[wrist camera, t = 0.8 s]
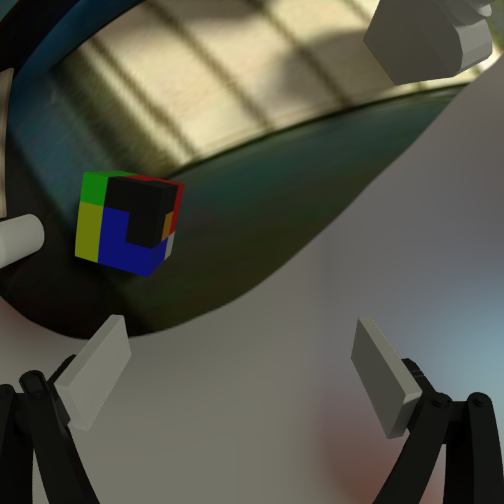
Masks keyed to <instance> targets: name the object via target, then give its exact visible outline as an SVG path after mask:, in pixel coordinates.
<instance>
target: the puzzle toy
mask: <svg viewBox="0 0 504 504" xmlns="http://www.w3.org/2000/svg"><path fill="white" fill-rule="evenodd" d="M183 189H184V184H182V183H177V182H173V181H168V180H163V179H158V178H153V177H148V176H143V175H138V174H133V173H128V172H123V171H103V172H84V177H83V184H82V190H81V197H80V205H79V213H78V223H77V233H76V246H75V256H77V257H80V258H84V259H87V260H90V261H93V262H97V263H100V264H104V265H107V266H110V267H114V268H117V269H121V270H124V271H128V272H131V273H135V274H138V275H142V276H146V277H149V276H150V275H151V274H152V273H153V272H154V271H155V270H156V269H157V268H158V267H159V266H160V264H161V263H162V262H163V261H164V260H165V259H166V258H167V257H168V256H169V255H170V254H171V249H172V244H173V238H174V233H175V228H176V223H177V217H178V213H179V208H180V203H181V198H182V193H183Z"/></svg>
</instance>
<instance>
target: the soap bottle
mask: <svg viewBox="0 0 504 504" xmlns="http://www.w3.org/2000/svg"><path fill="white" fill-rule="evenodd" d="M494 1H495V0H380V1H379V4H378V6H377V9H376V11H375V13H374V16H373V18H372V20H371V23H370V25H369V28H368V30H367V32H366V35H365V37H364V39H363V41H364V42H365V44H366V45H367V46H368V48H369V49H370V50H371V51H372V53H373V54H374V55H375V57H376V58H377V60H378V61H379V62H380V64H381V65H382V66H383V68H384V69H385V71H386V72H387V74H388V75H389V77H390V78H391V79H392V81H393V82H394V84H395V85H402V84H408V83H414V82H420V81H427V80H435V79H442V78H451V77H454V76H456V75H458V74H460V73H461V72H463V71H465V70H467V69H469V68H471V67H472V66H474V65H476V64H478V63H480V62H482V61H484V60H486V59H488V57H489V56H490V55H491V54H492V38H491V35H490V31H489V28H488V25H487V23H486V21H485V20H484V19H485V18H487V17H489V16H490V15H491V7H490V3H492V2H494Z"/></svg>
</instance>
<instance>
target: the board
mask: <svg viewBox="0 0 504 504" xmlns="http://www.w3.org/2000/svg"><path fill="white" fill-rule="evenodd" d="M13 72H14V69H13V68H9V69H7V70H5V71H3V72H1V73H0V218H3V217H7V216H6V202H5V136H6V123H7V112H8V104H9V96H10V89H11V83H12V77H13Z"/></svg>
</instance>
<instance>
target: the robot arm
mask: <svg viewBox="0 0 504 504" xmlns="http://www.w3.org/2000/svg"><path fill="white" fill-rule="evenodd" d="M131 356H132V355H131V350H130V346H129V341H128V337H127V332H126V327H125V322H124V317H123V316H121V315H111V316H110V317H109V318H108V320H107V321H106V322H105V323H104V324H103V325H102V326H101V328H100V329H99V330H98V331H97V332H96V333H95V335H94V336H93V337H92V338H91V339H90V340H89V342H88V343H87V344H86V345H85V346H84V348H83V349H82V350H81V351H80V352H79V353H78V355H74V354H73V355H72V356H70V357H68V358H67V359H65V361H64V362H63V363H62V364H61V366H59V368H58V369H57V371H55V372H54V374H53V375H52V376H51V377H50V378H49V380H48V381H47V382H46V379H45V377H44V375H43V373H42V372H40V371H38V370H32V371H28V372H26V373H24V374H23V375H22V376H21V377H20V379H19V383H20V385H21V387H22V389H23V391H24V393H16V392H15V390H14V388H13V386H11V385H10V384H2V385H0V504H33V503H32V502H33V500H32V471H33V451H34V450H35V454H36V459H37V463H38V467H39V471H40V474H41V479H42V482H43V486H44V489H45V492H46V495H47V499H48V501H49V504H100V503H99V501H98V499H97V497H96V495H95V492H94V490H93V488H92V486H91V484H90V482H89V479H88V477H87V474H86V472H85V470H84V468H83V465H82V462H81V460H80V457H79V455H78V452H77V449H76V447H75V444H74V441H73V438H72V435H71V432H70V429H69V428H68V426H67V424H68V423H69V421H70V420H71V421H72V423H73V425H74V427H75V428H77V429H80V430H84V431H87V432H88V431H89V429H90V427H91V426H92V424H93V422H94V420H95V418H96V417H97V415H98V413H99V411H100V409H101V408H102V406H103V404H104V402H105V400H106V399H107V397H108V395H109V393H110V392H111V390H112V388H113V386H114V385H115V383H116V381H117V380H118V378H119V376H120V374H121V373H122V371H123V369H124V367H125V366H126V364H127V362H128V361H129V359H130V357H131ZM351 359H352V361H353V363H354V366H355V368H356V370H357V372H358V374H359V376H360V378H361V381H362V383H363V385H364V387H365V389H366V392H367V394H368V396H369V398H370V400H371V403H372V405H373V407H374V409H375V412H376V414H377V416H378V418H379V421H380V423H381V425H382V428H383V430H384V432H385V435H386V437H387V439H392V438H396V437H401V436H403V434H404V432H405V430H406V428H408V430H409V432H410V435H409V437H408V439H407V440H406V442H405V444H404V446H403V449H402V451H401V453H400V455H399V457H398V459H397V461H396V463H395V465H394V467H393V469H392V471H391V473H390V474H389V476H388V478H387V480H386V482H385V483H384V485H383V487H382V488H381V490H380V492H379V494H378V495H377V497H376V499H375V500H374V502H373V503H372V504H419V502H420V500H421V498H422V495H423V493H424V491H425V489H426V486H427V484H428V481H429V479H430V476H431V474H432V471H433V469H434V466H435V463H436V460H437V458H438V455H439V452H440V449H441V446H442V444H446V469H445V485H444V496H443V504H504V477H503V476H504V475H503V464H502V456H501V448H500V442H499V436H498V430H497V424H496V419H495V414H494V409H493V404H492V401H491V399H490V398H489V397H488V396H487V395H486V394H483V393H480V392H474V393H472V394H470V395H469V397H468V398H467V401H452V399H451V398H450V397H449V396H448V395H446V394H444V393H439V392H436V391H435V389H434V388H433V387H432V385H431V384H430V382H429V381H428V380H427V378H426V377H425V376H424V374H423V373H422V371H420V368H419V367H418V366H417V365H416V363H415V362H413V361H411V360H410V359H409V358H406V359H400V358H399V356H398V355H397V353H396V352H395V350H394V349H393V348H392V346H391V345H390V343H389V342H388V340H387V339H386V337H385V336H384V335H383V333H382V332H381V331H380V329H379V328H378V326H377V325H376V323H375V322H374V321H373V319H372V318H371V317H360V318H358V321H357V328H356V333H355V339H354V344H353V350H352V355H351Z"/></svg>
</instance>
